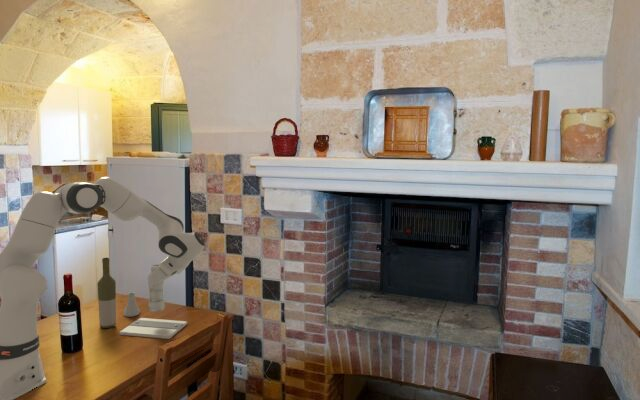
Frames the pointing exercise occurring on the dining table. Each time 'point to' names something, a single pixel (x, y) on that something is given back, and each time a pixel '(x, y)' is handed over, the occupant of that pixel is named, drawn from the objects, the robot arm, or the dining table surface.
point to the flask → (131, 306)
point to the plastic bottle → (156, 294)
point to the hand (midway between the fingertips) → (154, 284)
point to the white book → (153, 328)
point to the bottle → (107, 297)
